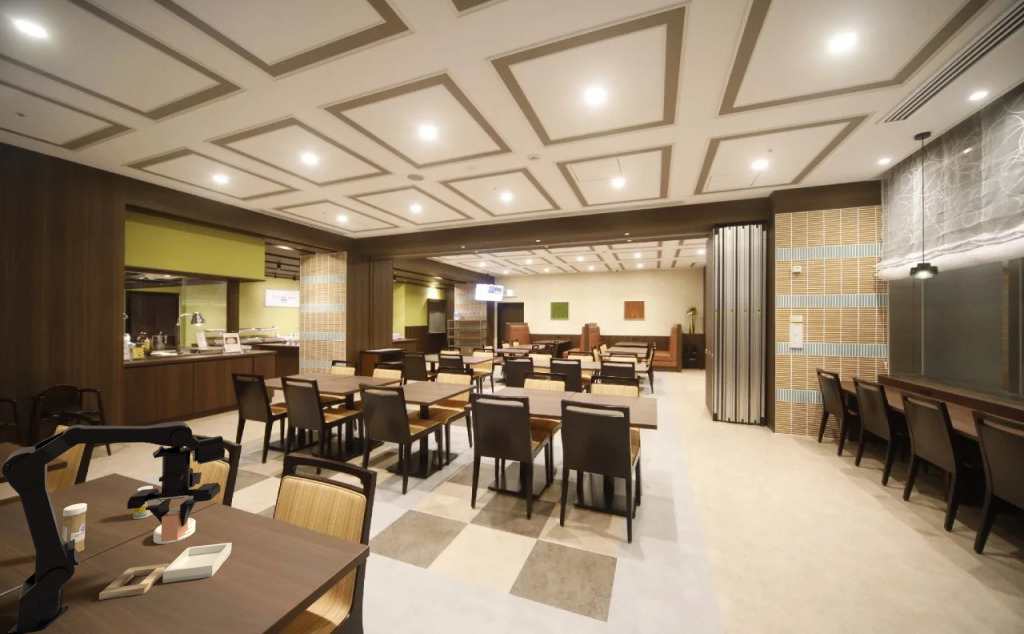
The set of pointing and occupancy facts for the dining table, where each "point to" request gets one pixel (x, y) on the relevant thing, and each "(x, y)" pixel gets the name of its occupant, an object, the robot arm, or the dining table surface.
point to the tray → (197, 562)
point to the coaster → (189, 532)
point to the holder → (120, 590)
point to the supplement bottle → (141, 511)
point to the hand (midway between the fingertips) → (175, 526)
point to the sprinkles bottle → (75, 524)
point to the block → (172, 525)
